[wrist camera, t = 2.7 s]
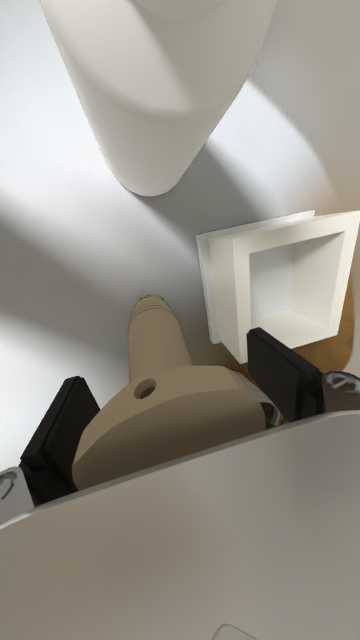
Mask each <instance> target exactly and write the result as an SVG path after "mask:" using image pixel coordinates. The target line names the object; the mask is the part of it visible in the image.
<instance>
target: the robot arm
mask: <svg viewBox="0 0 360 640" xmlns="http://www.w3.org/2000/svg"><path fill="white" fill-rule="evenodd" d="M246 337H247V356H248V371H249V373H250V375H251V377H252V378H253V379H254V380H255V381H256V383H257V384H258V385H259V386H260V388H261V389H262V390H263V391H264V393H265V394H266V395H267V396H268V397H269V399H270V400H271V401H272V402H273V404H274V405H275V406H276V407H277V408H278V410H279V411H280V412H281V413H282V415H283V416H284V417H285V418H286V420H287V421H288V422H289V423H288V424H284V425H281V426H278V427H274V428H271V429H268V430H265V431H262V432H259V433H255V434H252V435H249V436H246V437H243V438H240V439H236V440H233V441H230V442H227V443H224V444H221V445H218V446H215V447H211V448H208V449H205V450H202V451H199V452H196V453H193V454H190V455H187V456H184V457H180V458H177V459H174V460H171V461H168V462H165V463H162V464H159V465H156V466H153V467H150V468H147V469H144V470H141V471H138V472H135V473H131V474H128V475H125V476H122V477H119V478H116V479H113V480H110V481H107V482H104V483H101V484H98V485H95V486H92V487H89V488H86V489H84V490H81V491H79V490H78V488H77V487H76V485H75V484H74V482H73V477H72V465H73V462H74V458H75V455H76V451H77V448H78V445H79V442H80V438H81V436H82V433H83V431H84V429H85V428H86V427H87V426H88V424H89V423H90V422H91V421H92V419H93V418H94V417H95V416H96V415H97V414H98V413H99V411H100V408H99V406H98V404H97V402H96V400H95V398H94V397H93V395H92V393H91V391H90V389H89V387H88V385H87V383H86V381H85V379H84V378H83V377H82V378H80V377H79V376H75V377H71V378H67V379H66V380H65V381H64V383H63V385H62V386H61V388H60V390H59V392H58V393H57V395H56V397H55V399H54V400H53V402H52V404H51V405H50V407H49V409H48V411H47V412H46V414H45V416H44V418H43V419H42V421H41V423H40V425H39V426H38V428H37V430H36V431H35V433H34V435H33V437H32V438H31V440H30V442H29V444H28V445H27V447H26V449H25V451H24V452H23V454H22V456H21V457H20V459H21V460H22V461H21V463H20V464H19V466H18V467H11V468H8V469H6V470H4V471H2V472H0V640H360V378H359V377H357V376H355V375H353V374H350V373H347V372H343V371H328V372H325V373H324V374H323V373H322V372H320V371H319V369H318V368H317V367H315V366H314V365H312V364H311V363H310V362H308V361H307V360H305V359H304V358H303V357H301V356H300V355H298V354H297V353H296V352H294V351H293V350H291V349H290V348H289V347H287V346H286V345H284V344H283V343H282V342H280V341H279V340H277V339H276V338H275V337H273V336H272V335H270V334H269V333H268V332H266V331H265V330H263V329H262V328H260V327H257V328H254V329H250V330H249V332H248V333H247V334H246Z"/></svg>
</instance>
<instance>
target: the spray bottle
mask: <svg viewBox="0 0 360 640" xmlns="http://www.w3.org/2000/svg"><path fill="white" fill-rule="evenodd" d="M39 3H40V5H41V8H42V10H43V13H44V15H45V18H46V20H47V23H48V25H49V28H50V30H51V33H52V35H53V37H54V40H55V42H56V45H57V47H58V49H59V52H60V54H61V57H62V59H63V61H64V64H65V66H66V69H67V71H68V74H69V76H70V78H71V81H72V83H73V86H74V88H75V90H76V93H77V95H78V98H79V100H80V102H81V105H82V107H83V110H84V112H85V115H86V117H87V119H88V122H89V124H90V127H91V129H92V131H93V134H94V136H95V139H96V141H97V143H98V146H99V148H100V151H101V153H102V156H103V158H104V160H105V163H106V165H107V167H108V168H109V170H110V171H111V173H112V174H113V175H114V177H115V178H116V180H117V181H118V182H120V183H121V184H122V185H123V186H124V187H126V188H127V189H128V190H129V191H132V192H134V193H137V194H139V195H141V196H158V195H160V194H163V193H166V192H168V191H169V190H170V189H171V188H173V187H174V186H175V185H176V184H177V183H178V182H179V180H180V179H181V177H182V176H183V174H184V173H185V171H186V170H187V168H188V167H189V165H190V164H191V163H192V161H193V160H194V158H195V157H196V155H197V154H198V152H199V151H200V149H201V148H202V146H203V145H204V143H205V142H206V141H207V139H208V138H209V136H210V135H211V133H212V132H213V130H214V129H215V127H216V126H217V124H218V123H219V121H220V120H221V119H222V117H223V116H224V114H225V113H226V111H227V110H228V108H229V107H230V105H231V104H232V102H233V101H234V100H235V98H236V96H237V95H238V93H239V92H240V90H241V88H242V87H243V85H244V83H245V82H246V80H247V78H248V77H249V75H250V74H251V72H252V70H253V69H254V67H255V65H256V64H257V62H258V59H259V56H260V53H261V50H262V47H263V44H264V41H265V38H266V35H267V32H268V29H269V26H270V22H271V19H272V16H273V13H274V10H275V7H276V3H277V0H39Z"/></svg>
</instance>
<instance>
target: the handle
mask: <svg viewBox="0 0 360 640" xmlns="http://www.w3.org/2000/svg"><path fill="white" fill-rule="evenodd" d="M128 339H129V380H130V384H128V385H127V386H126V387H125V388H123V389H122V390H121V391H120V392H119V393H118V394H117V395H115V396H114V397H113V398H112V399H111V400H110V401H109V402H108V403H107V404H106V405H105V406H104V407H103V408H102V409H101V410H100V411H99V413H98V414H97V415H96V416H95V417H94V418H93V419H92V421H91V422H90V423H89V424H88V426H87V427H86V428H85V429H84V431H83V433H82V436H81V438H80V442H79V445H78V448H77V451H76V455H75V458H74V462H73V465H72V477H73V482H74V484H75V485H76V487H77V488H78V490H79V491H81V490H84V489H86V488H89V487H92V486H95V485H98V484H101V483H104V482H107V481H110V480H113V479H116V478H119V477H122V476H125V475H128V474H131V473H135V472H138V471H141V470H144V469H147V468H150V467H153V466H156V465H159V464H162V463H165V462H168V461H171V460H174V459H177V458H180V457H184V456H187V455H190V454H193V453H196V452H199V451H202V450H205V449H208V448H211V447H215V446H218V445H221V444H224V443H227V442H230V441H233V440H236V439H240V438H243V437H246V436H249V435H252V434H255V433H259V432H262V431H265V427H266V421H265V414H264V411H263V409H262V406H261V404H260V403H259V402H258V400H257V399H256V397H255V396H254V395H253V393H252V392H251V391H250V389H249V388H248V387H247V385H246V384H245V383H244V382H243V380H242V379H241V378H240V377H239V376H238V375H237V374H235V373H234V372H233V371H231V370H230V369H228V368H226V367H224V366H193V363H192V361H191V358H190V355H189V352H188V350H187V347H186V344H185V341H184V338H183V335H182V332H181V329H180V326H179V323H178V320H177V318H176V316H175V315H174V313H173V311H172V310H171V309H170V307H169V306H168V305H167V304H166V303H165V302H164V300H163V299H162V298H161V297H159V296H157V297H152V296H148V295H143V296H142V297H141V299H140V301H139V302H138V303H137V304H136V306H135V307H134V309H133V312H132V314H131V318H130V322H129V330H128Z"/></svg>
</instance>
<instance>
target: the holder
mask: <svg viewBox="0 0 360 640" xmlns="http://www.w3.org/2000/svg"><path fill="white" fill-rule="evenodd" d="M314 212H315V210H311V211H306V212H301V213H296V214H292V215H287V216H282V217H278V218H273V219H268V220H264V221H259V222H254V223H250V224H245V225H240V226H236V227H231V228H226V229H222V230H217V231H212V232H208V233H203V234H198V235H196V242H197V249H198V256H199V263H200V270H201V278H202V285H203V292H204V299H205V306H206V313H207V320H208V328H209V335H210V341H211V342H212V343H213V344H216V343H220V342H222V343H223V344H224V345H225V346H226V348H227V349H228V350H229V351H230V352H231V354H232V355H233V356H234V357H235V358H236V360H237V361H238V362H239V363H240V364H243V363H246V362H248V356H247V337H246V334H247V333H248V332H249V330H250V329H254V328H257V327H260V328H262V329H263V330H265V331H266V332H268V333H269V334H270V335H272V336H273V337H275V338H276V339H277V340H279V341H280V342H282V343H283V344H284V345H286V346H287V347H289V348H290V349H292V348H295V347H299V346H302V345H305V344H308V343H312V342H315V341H318V340H322V339H325V338H328V337H331V336H335V335H337V333H338V328H339V323H340V318H341V313H342V308H343V303H344V298H345V293H346V288H347V283H348V278H349V273H350V268H351V263H352V258H353V253H354V247H355V243H356V238H357V233H358V228H359V223H360V210H359V211H352V212H345V213H337V214H330V215H323V216H316V217H314Z"/></svg>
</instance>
